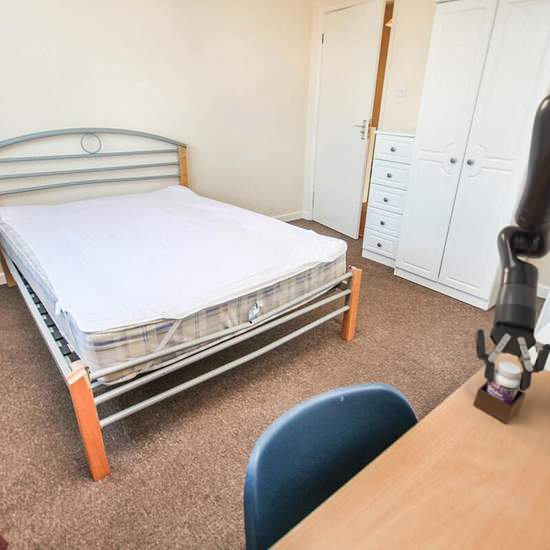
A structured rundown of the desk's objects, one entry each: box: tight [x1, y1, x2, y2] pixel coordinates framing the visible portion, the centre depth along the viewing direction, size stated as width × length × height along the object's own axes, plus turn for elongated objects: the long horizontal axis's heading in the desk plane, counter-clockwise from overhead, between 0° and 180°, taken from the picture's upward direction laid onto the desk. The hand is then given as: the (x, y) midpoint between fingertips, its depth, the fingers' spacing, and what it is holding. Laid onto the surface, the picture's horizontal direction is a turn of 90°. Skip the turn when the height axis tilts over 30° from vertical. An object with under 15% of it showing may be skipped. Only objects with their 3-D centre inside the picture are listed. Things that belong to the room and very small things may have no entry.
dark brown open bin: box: [472, 381, 527, 425], centre depth 81 cm, size 7×7×5 cm
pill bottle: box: [485, 360, 522, 405], centre depth 80 cm, size 5×5×10 cm
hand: (506, 385), depth 78 cm, fingers closed on pill bottle, 5 cm apart
